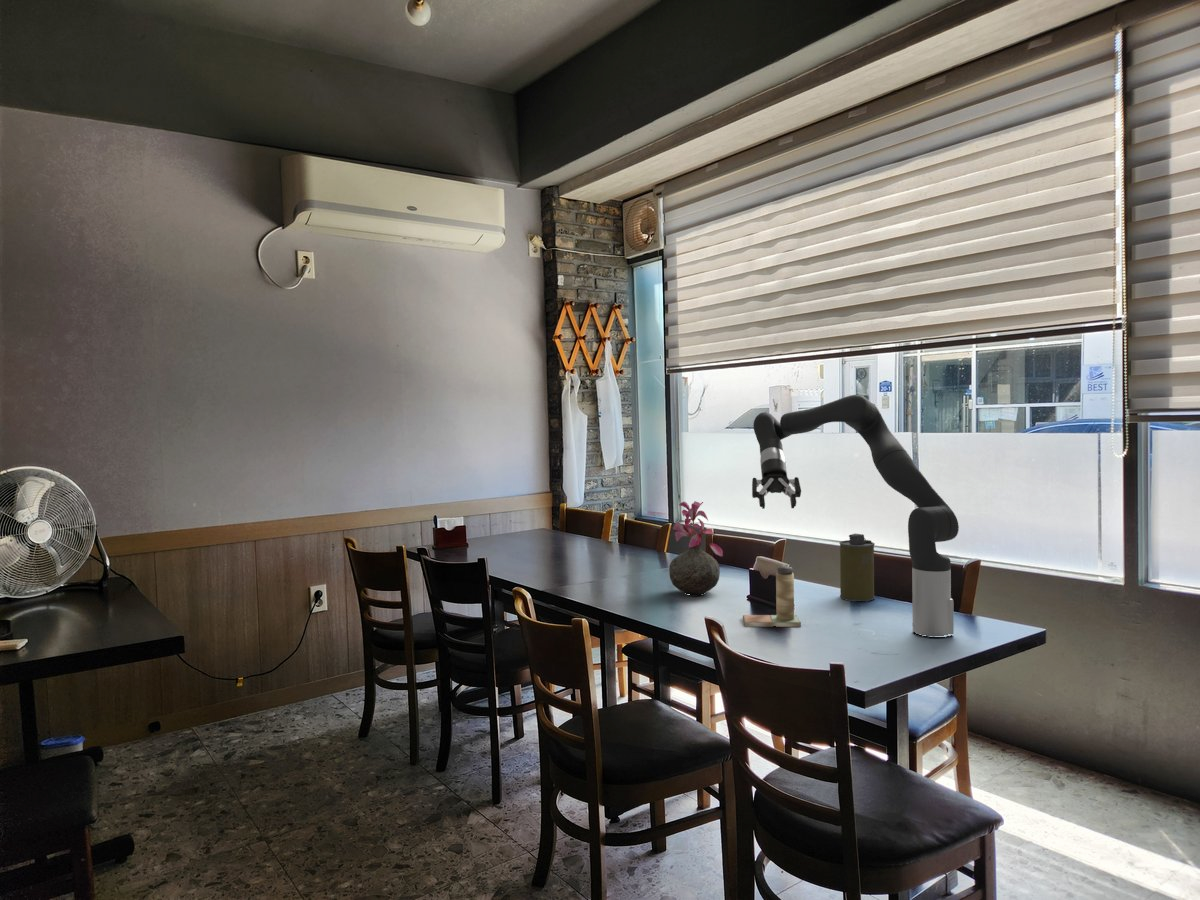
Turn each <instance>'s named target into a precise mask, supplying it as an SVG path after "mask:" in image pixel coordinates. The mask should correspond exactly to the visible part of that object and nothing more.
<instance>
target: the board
mask: <svg viewBox="0 0 1200 900" xmlns="http://www.w3.org/2000/svg"><path fill="white" fill-rule="evenodd" d="M742 620H743V624H744V626H745V627H765V628H766V627H772V628H773V626H776V628H777V627H782V628H783V627H785V628H787V627H792V628H793V627H794V628H801V627H802V624H801V623H802V622H801V621H800V619H799V618H798V616H797V614H796V615H795V614H794V619H793V620H788V621H786V620H779V619H777V618H776V614H770V615H769V614H743V615H742Z"/></svg>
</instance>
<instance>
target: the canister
mask: <svg viewBox="0 0 1200 900" xmlns="http://www.w3.org/2000/svg"><path fill="white" fill-rule="evenodd" d="M848 537H849V539H848V540H841V541H839V553H840V554H839V558H840V560H839V561H840V563H839V564H840V565H839V568H840V569H839V571H840V573H839V575H840V579H839V580H840V581H839V582H840V588H839V589H840V593H839V598H840V597H841V598H840V599H842V598H843V599H842V600H844V599H847V600H854V601H853V602H856V601H866V602H871V601H870V600H872V601H874V600H875V599H874V597H875V542H873V541H872V540H869V539H866V538H865V534H862V533H861V534H860V533H852V534H849V535H848ZM873 599H874V600H873ZM847 600H846V601H847Z"/></svg>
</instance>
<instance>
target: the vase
mask: <svg viewBox="0 0 1200 900" xmlns="http://www.w3.org/2000/svg"><path fill="white" fill-rule="evenodd" d="M703 503H704V502H703V501H702V502H699V501H693V503H691V507H690V505H689V504H688V503H687V502H686V501H682V502H680V503H679V504H678V506H680V507H681V506H682V507H684V508H685V509H682V511H681V513H682V516H683V517H685V518H684V525H683V524H682V523H681V522H680V521H676V522H675V523H674V526H673V527H672V530H674V537H675V540H676V542H679V540H680V539H681V538H683V537H687V538H688V537H689V538H690V540H689V543H688V546H687V547H688V548H689V549H688V550H686V551H684V552H682V553H680V554H678V555H676V557H674V558H673V559H672V560H671V562H670V563H669V568H668V571H669V572H668V574H669V579H670V582H671V583H672V585H673V586H674V587H675V588H676V589H677V590H679V591H681V592H683V593H686V594H690V595H701V594H704V593H705V594H706V593H707V592H709V591H711V590H712V589H713V588H715V587H716V586H717V584H718V582H719V580H720V573H721V572H720V564H719V562H718V561H717V560H716V559H715V558H714V557H713V556H712V555H710V554H709V553H707V552H706V551H704V550H703V548H702V541H703V536H702V535H708V534H709V535H712V536H714V537H716V534H715V533H714V532H713V530H712V529H706V530H704V529H705V523H704V521H702V520H701V519H700V518H698V516H701V517H702V518H705V519H706V520H707V521H709V519H708V516H707V514H706V512H705V511H704V510H699V508H700V507H701V506H702V505H703ZM696 519H697V520H698V522H699V523H700V524H698V523H697V522H696V523H695V520H696ZM691 521H692V522H691ZM696 529H699V532H700V533H698V531H696ZM675 531H676V532H675ZM708 544H709V547H710V549H711V550H712V551H713V553H714V554H715V555H717V556H719V557H724V551H723V549H722V548H721V547H720V546H719V545H718V544H716V543H714V542H708Z"/></svg>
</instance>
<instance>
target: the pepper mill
mask: <svg viewBox="0 0 1200 900" xmlns="http://www.w3.org/2000/svg"><path fill="white" fill-rule="evenodd" d="M775 588H776V589H775V590H776V591H775V593H776V594H775V600H776V601H775V603H776V609H775V610H776V614H775V615H776V618H777V619H779V620H786V621H788V620H793V619H794V615H795V573H794V572H793V567H792V566H787V565H785V566H784V565H783V566H777V572H776V573H775Z"/></svg>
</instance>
